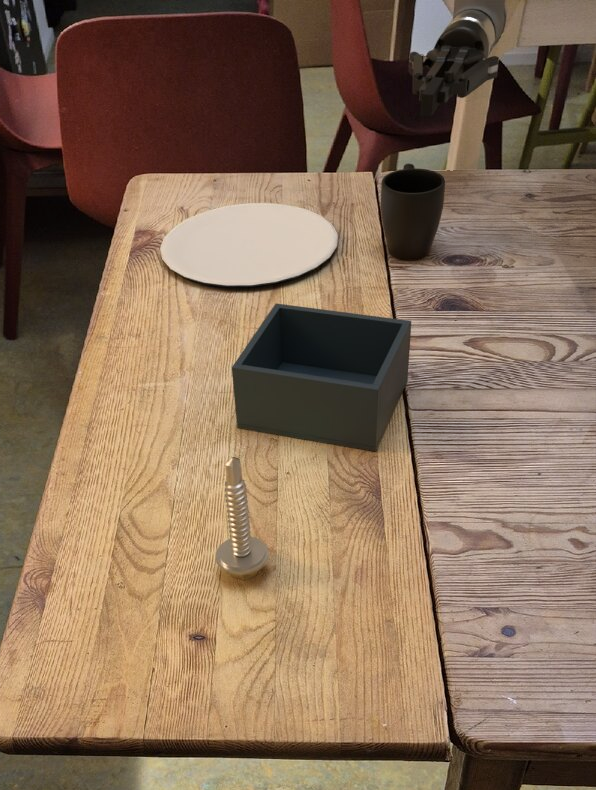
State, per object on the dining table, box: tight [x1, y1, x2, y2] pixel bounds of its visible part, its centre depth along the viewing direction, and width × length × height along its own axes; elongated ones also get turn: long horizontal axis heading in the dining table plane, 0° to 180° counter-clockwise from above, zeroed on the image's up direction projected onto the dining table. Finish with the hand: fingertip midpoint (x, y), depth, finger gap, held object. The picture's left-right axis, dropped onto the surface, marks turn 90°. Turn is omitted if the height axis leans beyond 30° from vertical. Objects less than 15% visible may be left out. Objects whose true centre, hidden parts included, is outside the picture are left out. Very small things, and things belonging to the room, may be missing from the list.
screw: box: [215, 456, 270, 581], centre depth 81 cm, size 13×5×5 cm
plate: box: [159, 202, 339, 288], centre depth 130 cm, size 25×25×1 cm
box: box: [231, 303, 412, 452], centre depth 100 cm, size 14×16×8 cm
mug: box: [380, 163, 446, 261], centre depth 125 cm, size 8×12×10 cm
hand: (426, 105), depth 121 cm, fingers closed
